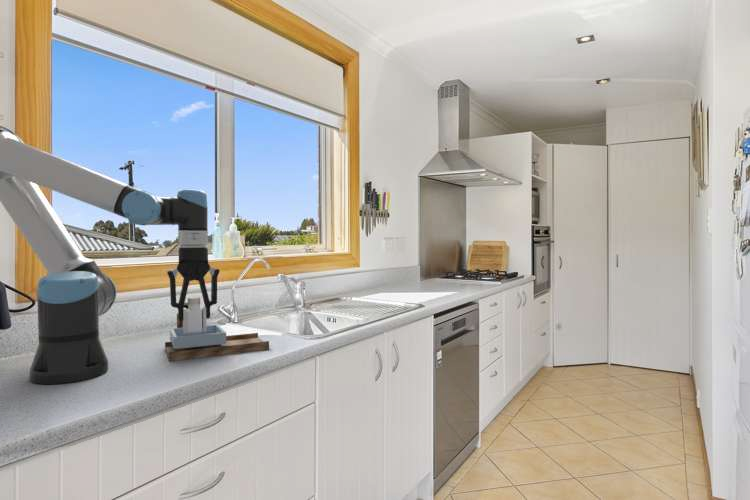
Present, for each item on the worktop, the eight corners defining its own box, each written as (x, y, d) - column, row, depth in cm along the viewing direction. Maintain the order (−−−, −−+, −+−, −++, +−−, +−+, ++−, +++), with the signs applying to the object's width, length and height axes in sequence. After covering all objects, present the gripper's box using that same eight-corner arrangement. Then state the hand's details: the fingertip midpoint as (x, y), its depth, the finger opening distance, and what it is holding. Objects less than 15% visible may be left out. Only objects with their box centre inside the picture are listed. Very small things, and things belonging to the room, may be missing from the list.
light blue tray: (174, 356, 118) (174, 337, 118) (170, 345, 129) (169, 328, 129) (226, 350, 124) (226, 332, 124) (217, 340, 136) (217, 324, 135)
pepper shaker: (186, 331, 128) (186, 297, 127) (202, 329, 129) (201, 296, 129) (186, 333, 124) (186, 299, 124) (202, 332, 125) (201, 298, 125)
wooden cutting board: (169, 361, 117) (168, 352, 117) (165, 349, 129) (164, 341, 129) (269, 349, 130) (269, 341, 130) (257, 339, 142) (257, 332, 141)
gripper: (159, 247, 118) (160, 337, 119) (228, 246, 126) (229, 330, 127) (157, 246, 125) (159, 331, 125) (223, 246, 133) (224, 325, 134)
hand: (194, 330), depth 126 cm, fingers closed on pepper shaker, 4 cm apart
